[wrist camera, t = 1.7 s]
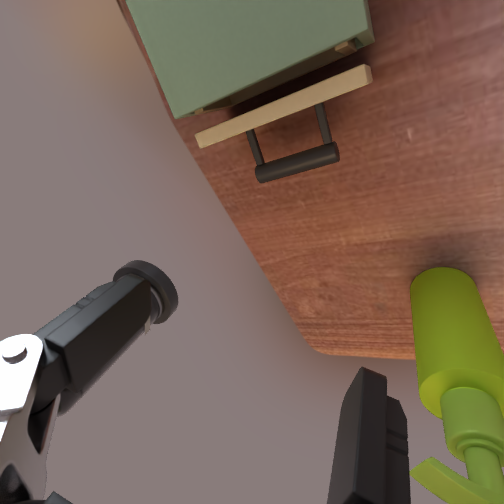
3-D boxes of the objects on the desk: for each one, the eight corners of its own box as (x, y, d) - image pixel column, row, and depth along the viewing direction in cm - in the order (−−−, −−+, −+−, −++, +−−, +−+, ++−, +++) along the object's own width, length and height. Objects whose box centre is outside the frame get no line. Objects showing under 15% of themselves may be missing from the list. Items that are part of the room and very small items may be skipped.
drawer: (383, 139, 26) (381, 156, 21) (249, 179, 33) (220, 200, 27) (324, -184, 19) (298, -288, 14) (166, -52, 25) (105, -86, 20)
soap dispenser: (418, 253, 31) (450, 453, 15) (490, 282, 29) (611, 534, 13) (390, 295, 34) (390, 495, 18) (453, 322, 33) (514, 563, 17)
